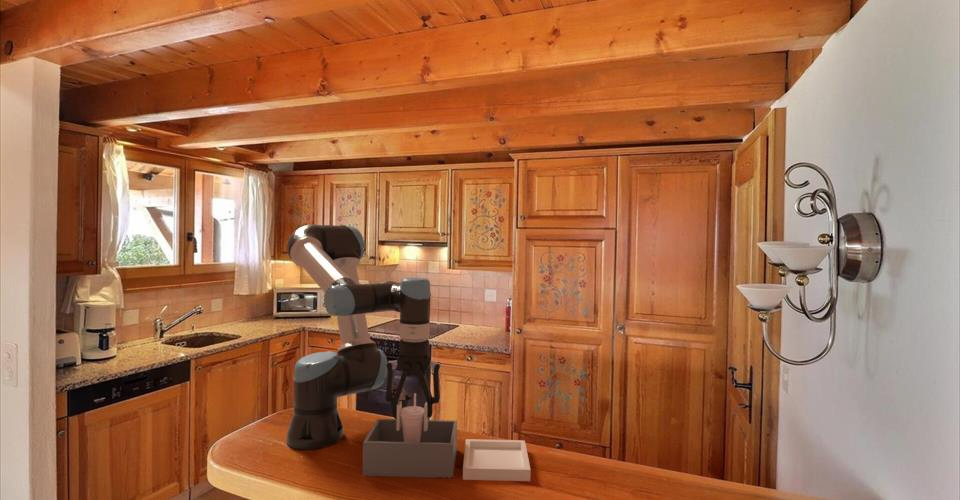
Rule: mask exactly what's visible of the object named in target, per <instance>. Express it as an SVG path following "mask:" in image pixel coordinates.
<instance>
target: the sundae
mask: <svg viewBox="0 0 960 500" xmlns="http://www.w3.org/2000/svg"><path fill="white" fill-rule="evenodd" d="M397 388H398V385H397V384H396V383H395V382H394V383H393V393H392V395H393V396H395V393H396V390H397ZM410 392H411V390H409V391H408V392H407V393H406V389H404V388H403V389H402V392H401V395H400V398H399V401H402V408H404V407H408V403H409V401H410V400H412V397H411V395H410ZM390 408H391V414H392V415H391V416H392V417H393V419H397V416H393V404H392V403H391V402H390ZM401 419H402V418H401Z"/></svg>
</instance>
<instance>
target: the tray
mask: <svg viewBox="0 0 960 500" xmlns="http://www.w3.org/2000/svg"><path fill="white" fill-rule="evenodd" d="M462 480H464V481H473V480H474V481H499V482H500V481H501V482H502V481H506V482H508V481H509V482H510V481H511V482H531V464H530V460H529V455H528V450H527V445H526V441H525V439H524V440H522V439H521V440H519V439H517V440H515V439H512V440H511V439H476V438H475V439H473V438H471V439H470V438H468V439H467V438H466V439H465V446H464V454H463V465H462Z"/></svg>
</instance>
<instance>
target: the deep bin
mask: <svg viewBox="0 0 960 500" xmlns="http://www.w3.org/2000/svg"><path fill="white" fill-rule="evenodd" d="M396 422H397V419H395V418H377V419H376V421H375V422H374V424H373V426H372V428H370V431H369V432H368V433H367V435H366V437H365V439H364V440H363V442H362V477H363V476H364V477H398V478H399V477H402V478H403V477H404V478H436V477H443V479H444V478H445V477H448V478H447V479H452V478H451V477H453V478H454V472H455V465H456V460H457V459H456V457H457V451H458V448H457V447H458V446H457V445H458V420H447V419H446V420H445V419H437V420H436V419H428V429H427V431H424V419H423V425H422V432H421V438H420V442H404V437H403V428H402V419H401V428H400V430H399V431H396ZM445 479H446V478H445Z"/></svg>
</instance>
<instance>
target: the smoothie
mask: <svg viewBox="0 0 960 500" xmlns="http://www.w3.org/2000/svg"><path fill="white" fill-rule="evenodd" d="M400 416H401V418H402V428H403V437H404V442H420V438H421V432H422V425H423V420H424V407H422V406H418V405H417V392H416V393H413V405H409V406H408V405H407V407H404V408H402V409H401V411H400Z"/></svg>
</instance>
